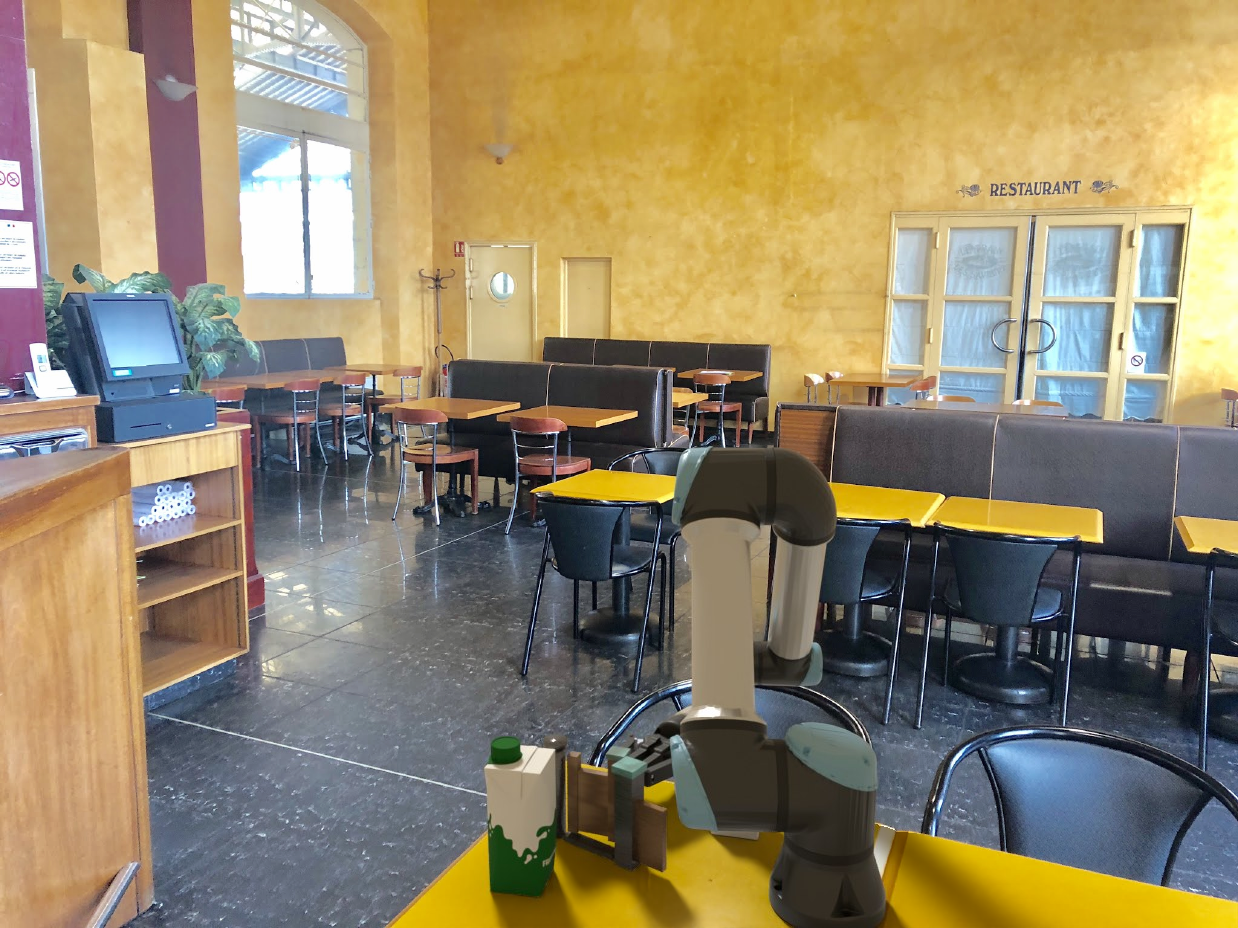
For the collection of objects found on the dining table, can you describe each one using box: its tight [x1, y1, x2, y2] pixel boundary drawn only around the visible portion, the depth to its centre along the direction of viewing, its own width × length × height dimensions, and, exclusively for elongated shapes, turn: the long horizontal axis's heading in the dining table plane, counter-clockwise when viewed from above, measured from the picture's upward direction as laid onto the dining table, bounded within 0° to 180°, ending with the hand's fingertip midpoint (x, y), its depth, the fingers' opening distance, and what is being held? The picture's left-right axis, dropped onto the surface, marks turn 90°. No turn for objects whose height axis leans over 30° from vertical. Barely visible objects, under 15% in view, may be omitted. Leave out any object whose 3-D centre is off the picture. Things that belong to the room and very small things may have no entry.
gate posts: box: [542, 733, 668, 873], centre depth 136 cm, size 21×4×15 cm, turn 54°
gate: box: [566, 745, 631, 843], centre depth 139 cm, size 9×3×14 cm, turn 70°
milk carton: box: [483, 735, 557, 898], centre depth 129 cm, size 9×9×20 cm
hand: (600, 791), depth 140 cm, fingers closed
